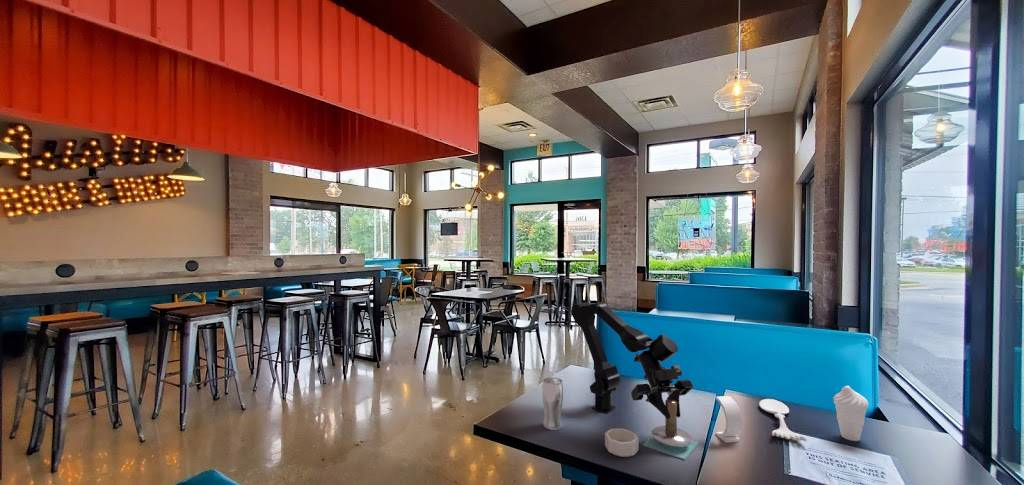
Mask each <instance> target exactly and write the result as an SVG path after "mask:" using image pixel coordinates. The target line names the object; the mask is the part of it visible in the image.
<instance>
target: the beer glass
mask: <svg viewBox="0 0 1024 485" xmlns="http://www.w3.org/2000/svg"><path fill="white" fill-rule="evenodd" d="M541 388H542V389H541V398H542V404H543V405H542V406H543V411H544V420H543V427H544V428H545V429H547V430H550V431H556V430H560V429H562V427H563V422H562V414H561V413H562V408H563V403H564V383H563V379H561V378H559V377H553V376H550V377H549V376H548V377H545V378H543V379H542V386H541Z"/></svg>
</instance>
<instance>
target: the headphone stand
mask: <svg viewBox="0 0 1024 485" xmlns="http://www.w3.org/2000/svg"><path fill="white" fill-rule="evenodd" d="M715 400H716V401H717V402H718V403H719V404H720V406H721V408H722V410H723V413H724V417H725V428H724V431H716V432H715V436H716V437H718V438H719V439H720V440H722V441H723V442H724V443H739V442H741V441H740V440H741V439H740V438H739V437H737V436H738V435H739V434H741V431H742V429H743V428H742V426H743V418H742V414H741V410H740V408H739V406H738V404H737V402H736V401H735V399H733V398H732V396H730V395H722V396H721V395H720V396H715Z"/></svg>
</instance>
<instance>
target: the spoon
mask: <svg viewBox="0 0 1024 485" xmlns="http://www.w3.org/2000/svg"><path fill="white" fill-rule="evenodd" d="M758 405H759V407H760V408H761V409H762V410H763V411H765V412H766V413H767V412H768V413H770V414H773V415H774V417H775V418H777V419H779V428H777V429H774V430H772V432H771V435H772V436H773V437H774V436H776V437H777V438H781V439H786V440H792V441H804V442H807V438H806V437H805V436H801V435H799V434H797V433H795V432H794V431H791V430H790V429H789V428H788V426H787V424H786V421H785V419H786V416H785V415H786V414H788V413H789V412H790V408H789V407H788V406H787V405H786V404H784V403H783V402H782V401H779V400H776V399H773V398H765V399H761V400H759V403H758Z"/></svg>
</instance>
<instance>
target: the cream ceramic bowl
mask: <svg viewBox="0 0 1024 485" xmlns="http://www.w3.org/2000/svg"><path fill="white" fill-rule="evenodd" d="M639 439H640V438H639V436H638V435H637V434H636V432H634V431H632V430H628V429H626V428H622V427H621V428H610V429H609V430H607V431H606V432H605V433H604V446H605V448H606V450H607V451H608V452H609V453H610V454H611V455H614V456H616V457H621V458H630V457H633V456H635V455H636V454H637V453H638V452H639V450H640V449H639V446H640V445H639V444H640V443H639V441H640V440H639Z"/></svg>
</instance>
